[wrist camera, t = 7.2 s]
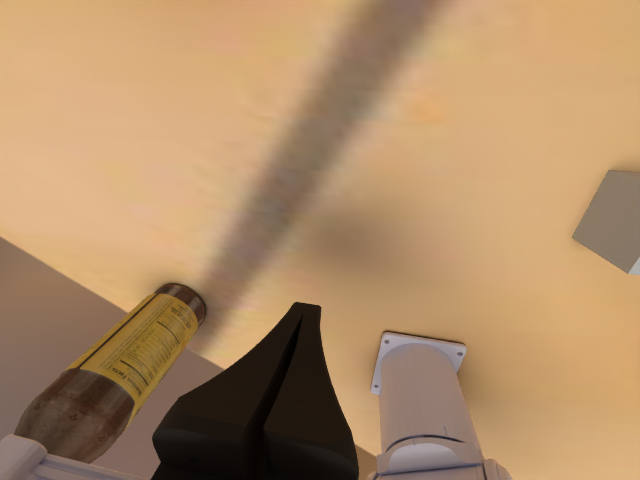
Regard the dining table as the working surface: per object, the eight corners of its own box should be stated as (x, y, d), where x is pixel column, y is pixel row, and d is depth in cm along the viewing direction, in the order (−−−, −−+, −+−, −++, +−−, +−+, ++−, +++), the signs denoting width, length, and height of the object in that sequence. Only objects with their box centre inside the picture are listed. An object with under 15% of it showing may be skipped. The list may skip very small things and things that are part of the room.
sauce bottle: (168, 323, 32) (-81, 593, 14) (148, 280, 29) (-190, 548, 11) (216, 326, 30) (11, 624, 13) (201, 281, 28) (-87, 582, 10)
